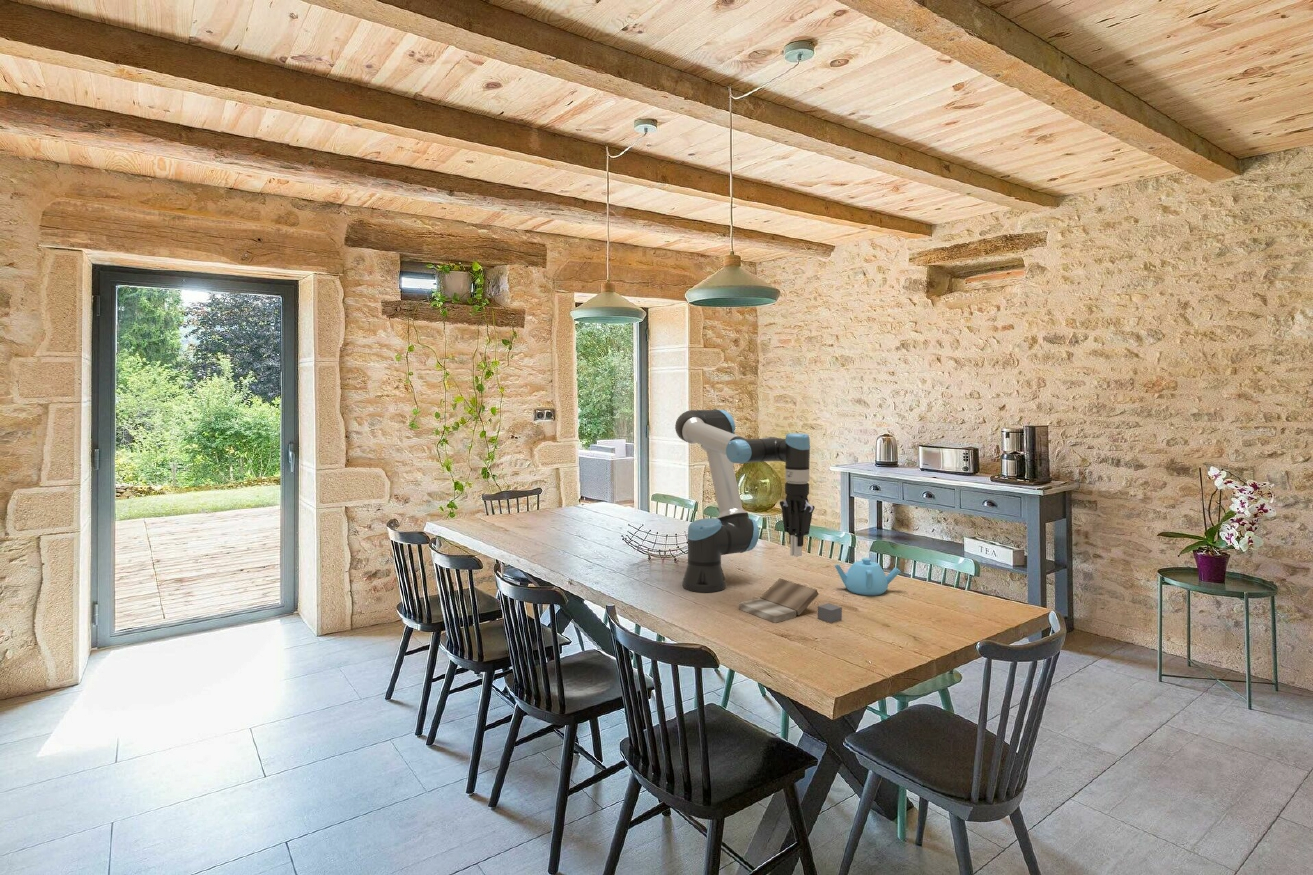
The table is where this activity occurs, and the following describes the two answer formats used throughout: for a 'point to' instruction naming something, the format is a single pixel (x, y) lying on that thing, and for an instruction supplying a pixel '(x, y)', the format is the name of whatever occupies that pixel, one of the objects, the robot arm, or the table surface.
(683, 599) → the table surface
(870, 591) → the teapot
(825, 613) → the block
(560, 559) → the table surface
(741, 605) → the laid floor rows
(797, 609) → the board
